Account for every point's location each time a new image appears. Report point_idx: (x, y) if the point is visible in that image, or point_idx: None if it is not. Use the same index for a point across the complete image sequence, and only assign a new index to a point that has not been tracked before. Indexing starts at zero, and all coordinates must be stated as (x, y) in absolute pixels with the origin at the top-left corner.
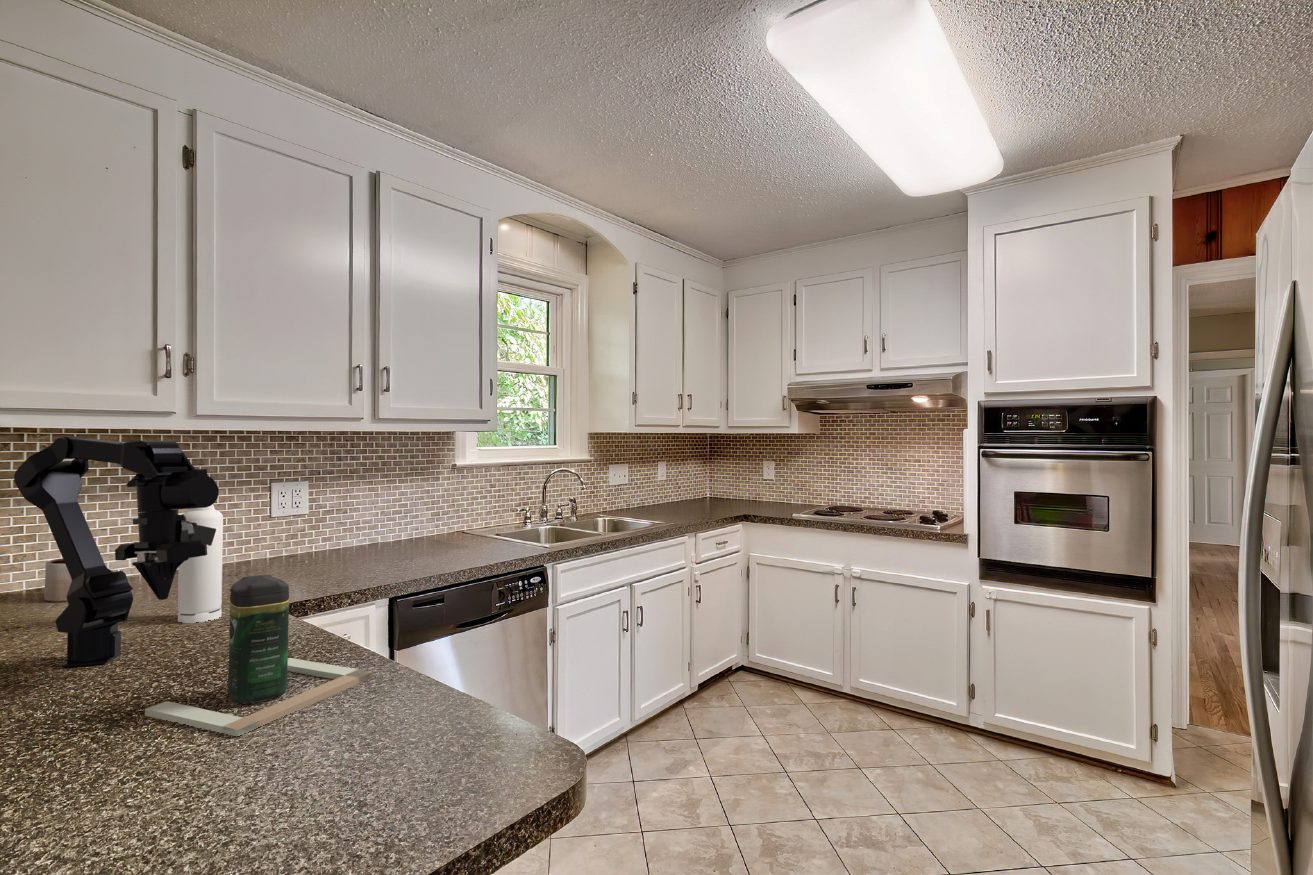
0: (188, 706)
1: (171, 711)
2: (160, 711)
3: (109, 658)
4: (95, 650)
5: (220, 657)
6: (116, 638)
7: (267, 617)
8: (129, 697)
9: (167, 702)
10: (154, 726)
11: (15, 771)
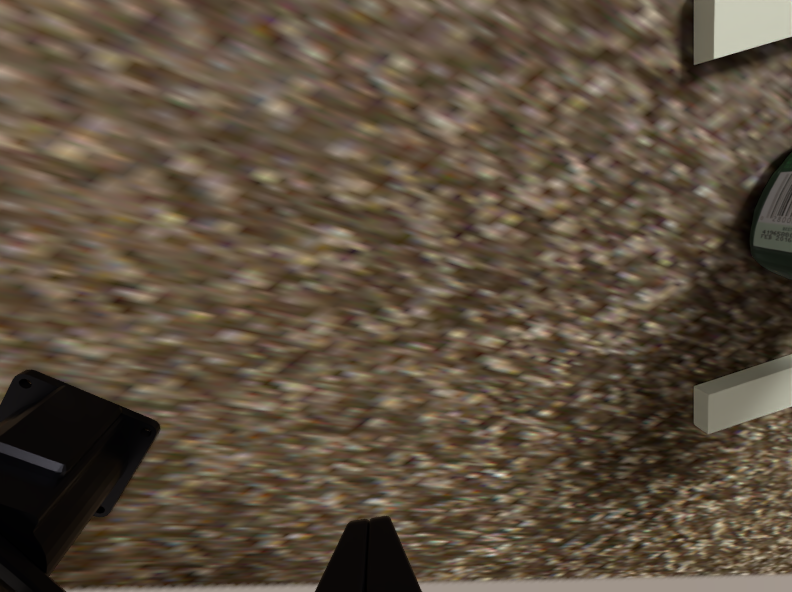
0: (784, 372)
1: (775, 402)
2: (752, 416)
3: (127, 417)
4: (105, 478)
5: (386, 135)
6: (63, 446)
7: None
8: (548, 425)
9: (717, 395)
10: (761, 422)
11: (724, 572)
